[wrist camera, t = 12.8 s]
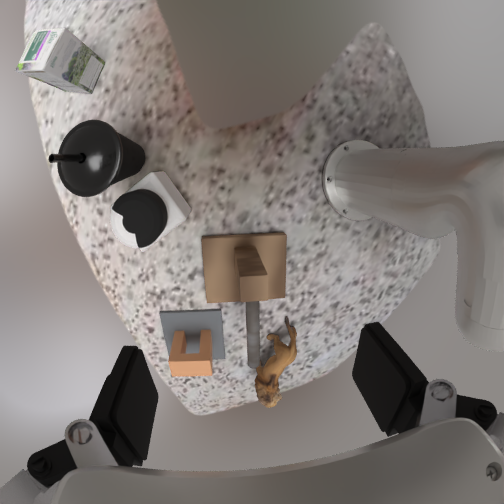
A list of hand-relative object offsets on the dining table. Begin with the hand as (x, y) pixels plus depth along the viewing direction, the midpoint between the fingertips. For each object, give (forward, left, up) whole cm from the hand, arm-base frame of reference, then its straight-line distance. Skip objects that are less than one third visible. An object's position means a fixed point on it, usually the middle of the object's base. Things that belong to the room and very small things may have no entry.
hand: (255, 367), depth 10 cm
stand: (-2, +10, -30) cm, 31 cm away
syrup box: (+22, -25, -30) cm, 45 cm away
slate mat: (+7, +19, -30) cm, 36 cm away
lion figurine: (-7, +24, -30) cm, 39 cm away
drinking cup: (+14, -10, -30) cm, 34 cm away
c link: (+7, +19, -29) cm, 35 cm away
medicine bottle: (+10, -3, -30) cm, 32 cm away
